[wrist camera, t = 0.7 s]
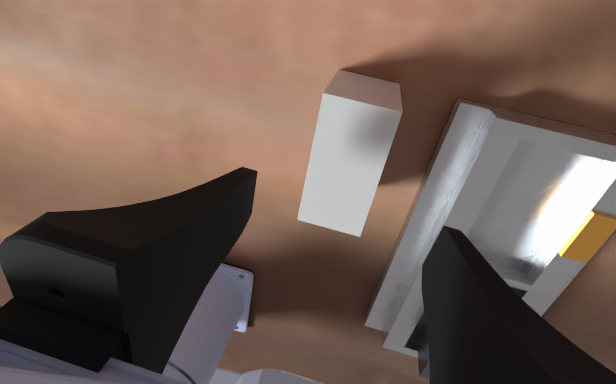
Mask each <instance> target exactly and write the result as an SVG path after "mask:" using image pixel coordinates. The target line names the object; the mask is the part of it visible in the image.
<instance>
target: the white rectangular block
mask: <svg viewBox="0 0 616 384" xmlns="http://www.w3.org/2000/svg"><path fill="white" fill-rule="evenodd" d="M402 113H403V110H402V102H401V93H400V85H399V84H398V83H394V82H390V81H386V80H381V79H377V78H373V77H369V76H364V75H360V74H356V73H352V72H347V71H343V70H338V72H337V73H336V75H335V76H334V78H333V79H332V81H331V82H330V84H329V85H328V87H327V88H326V89H325V91H324V92H323V96H322V101H321V106H320V111H319V116H318V121H317V126H316V131H315V135H314V140H313V145H312V150H311V155H310V160H309V165H308V170H307V175H306V180H305V184H304V189H303V194H302V199H301V204H300V209H299V214H298V219H297V220H300V221H304V222H307V223H311V224H315V225H318V226H322V227H326V228H329V229H333V230H336V231H340V232H344V233H347V234H351V235H355V236H358V237H360V236H361V233H362V230H363V227H364V224H365V221H366V218H367V215H368V212H369V209H370V206H371V203H372V201H373V198H374V195H375V192H376V189H377V186H378V183H379V180H380V177H381V174H382V171H383V168H384V165H385V163H386V160H387V157H388V154H389V151H390V148H391V145H392V142H393V139H394V136H395V133H396V130H397V127H398V125H399V122H400V119H401V116H402Z"/></svg>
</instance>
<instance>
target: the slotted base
mask: <svg viewBox="0 0 616 384" xmlns="http://www.w3.org/2000/svg"><path fill="white" fill-rule="evenodd" d="M443 225H444V226H448V227H451V228H455V229H458V230H461V231H462V232H463V233H464V235H465V236H466V237H467V238H468V239H469V240H470V241H471V243H472V244H473V245H474V246H475V247H476V249H477V250H478V251H479V252H480V253H481V255H482V256H483V257H484V258H485V259H486V260H487V262H488V263H489V264H490V265H491V266H492V267H493V269H494V270H495V271H496V272H497V273H498V274H499V275H500V277H501V278H502V279H503V280H504V281H505V282H506V283H507V284H508V285H509V286H510V287H511V288H512V289H513V290H514V291H515V293H516V294H517V295H518V296H519V297H520V298H521V299H522V300H523V301H525V302H526V303H527V304H528V305H529V306H530V307H531V308H532V309H533V310H534V311H535V312H536V313H537V314H539V315H540V316H542V315H543V314H544V312H545V311H546V310H547V309H548V308H549V307H550V306H551V304H552V303H553V302H554V301H555V300H556V299H557V297H558V296H559V295H560V294H561V293H562V292H563V290H564V289H565V288H566V287H567V286H568V285H569V283H570V282H571V281H572V280H573V279H574V278H575V276H576V275H577V274H578V273H579V272H580V271H581V269H582V268H583V267H584V266H585V265H586V264H587V263H588V261H589V260H590V259H591V258H592V257H593V256H594V254H595V253H596V252H597V251H598V250H599V249H600V247H601V246H602V245H603V244H604V243H605V242H606V240H607V239H608V238H609V237H610V236H611V235H612V233H613V232H614V231H615V230H616V135H614V134H610V133H606V132H601V131H597V130H593V129H589V128H584V127H580V126H576V125H572V124H567V123H563V122H559V121H555V120H550V119H546V118H542V117H538V116H533V115H529V114H525V113H521V112H517V111H512V110H508V109H504V108H500V107H495V106H491V105H487V104H483V103H478V102H474V101H470V100H466V99H461V98H457V100H456V102H455V104H454V107H453V109H452V111H451V114H450V116H449V119H448V121H447V123H446V126H445V128H444V130H443V133H442V135H441V137H440V140H439V142H438V145H437V147H436V149H435V152H434V154H433V156H432V159H431V161H430V164H429V166H428V168H427V171H426V173H425V175H424V178H423V180H422V183H421V185H420V187H419V190H418V192H417V194H416V197H415V199H414V201H413V204H412V206H411V209H410V211H409V213H408V216H407V218H406V220H405V223H404V225H403V228H402V230H401V232H400V235H399V237H398V239H397V242H396V244H395V246H394V249H393V251H392V254H391V256H390V258H389V261H388V263H387V265H386V268H385V270H384V273H383V275H382V277H381V280H380V282H379V284H378V287H377V289H376V291H375V294H374V296H373V299H372V301H371V303H370V306H369V308H368V310H367V313H366V315H365V325H364V326H367V327H371V328H374V329H377V330H381V331H382V347H383V348H387V349H390V350H393V351H397V352H400V353H403V354H407V355H410V356H413V357H416V358H418V364H419V376H421V377H425V378H428V379H430V357H429V345H428V337H427V329H426V321H425V314H424V306H423V298H422V264H423V262H424V261H425V259H426V257H427V255H428V253H429V251H430V250H431V248H432V246H433V244H434V242H435V240H436V238H437V237H438V235H439V233H440V231H441V229H442V227H443Z"/></svg>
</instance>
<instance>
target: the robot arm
mask: <svg viewBox="0 0 616 384" xmlns="http://www.w3.org/2000/svg"><path fill="white" fill-rule="evenodd" d="M256 178H257V171H255V170H251V169H248V168H244V167H241V168H238V169H236V170H234V171H232V172H230V173H227V174H225V175H223V176H221V177H218V178H216V179H214V180H212V181H209V182H207V183H205V184H202V185H199V186H197V187H194V188H192V189H189V190H186V191H184V192H181V193H178V194H174V195H171V196H168V197H164V198H160V199H156V200H152V201H147V202H142V203H137V204H132V205H127V206H120V207H113V208H105V209H96V210H83V211H63V212H47V213H45V214H44V215H42V216H40V217H39V218H37V219H36V220H34V221H33V222H31V223H29V224H28V225H26V226H25V227H23V228H21V229H20V230H18V231H17V232H15V233H14V234H12V235H10V236H9V237H7V238H6V239H4V241H3V242H2V243H1V245H0V263H1V267H2V269H3V271H4V274H5V276H6V279H7V281H8V284H9V286H10V289H11V291H12V294H13V296H14V298H12V299H11V300H10V301H9V302H7V303H6V304H5V305H4V306H2V307H1V305H0V384H209V383H210V381H211V379H212V377H213V375H214V373H215V371H216V368H217V366H218V364H219V362H220V360H221V358H222V356H223V353H224V351H225V349H226V347H227V345H228V343H229V340H230V338H231V336H232V334H233V332H234V330H236V331H239V332H245V331H246V329H247V325H248V318H249V310H250V303H251V295H252V288H253V280H254V275H253V273H251V272H250V271H247V270H243V269H240V268H236V267H233V266H230V265H226V264H223V263H222V262H223V260H224V259H225V257H226V256H227V255H228V253H229V252H230V250H231V249H232V247H233V246H234V244H235V243H236V241H237V240H238V238H239V237H240V235H241V234H242V232H243V230H244V228H245V226H246V224H247V222H248V220H249V218H250V216H251V214H252V207H253V199H254V192H255V185H256ZM241 274H242V275H241ZM422 298H423V306H424V314H425V321H426V329H427V337H428V345H429V357H430V384H616V374H615V373H613V372H612V371H611V370H609V369H608V368H606V367H605V366H603V365H602V364H601V363H599V362H598V361H596V360H595V359H594V358H592V357H591V356H589V355H588V354H587V353H585V352H584V351H583V350H581V349H580V348H579V347H577V346H576V345H575V344H573V343H572V342H571V341H570V340H568V339H567V338H566V337H565V336H563V335H562V334H561V333H560V332H558V331H557V330H556V329H555V328H553V327H552V326H551V325H550V324H549V323H548V322H546V321H545V320H544V319H543V318H542V317H541V316H540V315H539V314H537V313H536V312H535V311H534V310H533V309H532V308H531V307H530V306H529V305H528V304H527V303H526V302H525V301H523V300H522V299H521V298H520V297H519V296H518V295H517V294H516V293H515V291H514V290H513V289H512V288H511V287H510V286H509V285H508V284H507V283H506V282H505V281H504V280H503V279H502V278H501V277H500V275H499V274H498V273H497V272H496V271H495V270H494V269H493V267H492V266H491V265H490V264H489V263H488V262H487V260H486V259H485V258H484V257H483V256H482V255H481V253H480V252H479V251H478V250H477V249H476V247H475V246H474V245H473V244H472V243H471V241H470V240H469V239H468V238H467V237H466V236H465V235H464V233H463V232H462V231H461V230H458V229H455V228H451V227H448V226H444V225H443V227H442V229H441V231H440V233H439V235H438V237H437V238H436V240H435V242H434V244H433V246H432V248H431V250H430V251H429V253H428V255H427V257H426V259H425V261H424V262H423V264H422ZM236 384H323V383H320V382H317V381H314V380H311V379H308V378H305V377H302V376H299V375H296V374H293V373H290V372H287V371H281V370H275V369H270V368H263V369H258V370H254V371H249V372H246V373H244V374H243V375H242V377H241V378H240V379H239V381H238V382H237V383H236Z"/></svg>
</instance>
